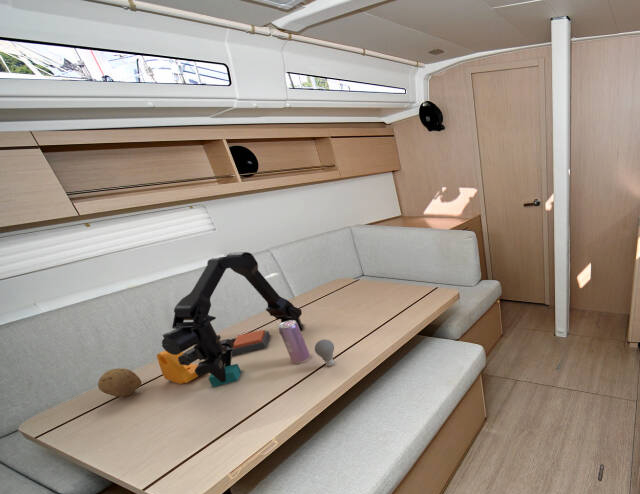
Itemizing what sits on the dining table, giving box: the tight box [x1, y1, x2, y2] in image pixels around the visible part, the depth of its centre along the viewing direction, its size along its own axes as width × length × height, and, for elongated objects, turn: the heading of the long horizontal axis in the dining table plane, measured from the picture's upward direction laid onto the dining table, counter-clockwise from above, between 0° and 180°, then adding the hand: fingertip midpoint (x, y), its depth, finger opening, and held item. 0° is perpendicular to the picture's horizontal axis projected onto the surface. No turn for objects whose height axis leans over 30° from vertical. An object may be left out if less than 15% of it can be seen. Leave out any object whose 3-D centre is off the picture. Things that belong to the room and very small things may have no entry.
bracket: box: [156, 349, 199, 385], centre depth 122 cm, size 11×7×12 cm, turn 73°
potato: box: [97, 367, 142, 398], centre depth 115 cm, size 9×9×10 cm
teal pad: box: [208, 363, 242, 388], centre depth 120 cm, size 7×6×4 cm
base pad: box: [233, 329, 266, 349], centre depth 141 cm, size 9×9×3 cm
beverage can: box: [277, 320, 311, 364], centre depth 126 cm, size 6×6×15 cm
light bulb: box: [314, 339, 335, 367], centre depth 122 cm, size 6×6×10 cm
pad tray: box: [204, 330, 271, 361], centre depth 140 cm, size 20×12×3 cm, turn 115°
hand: (226, 376), depth 121 cm, fingers closed on teal pad, 6 cm apart
